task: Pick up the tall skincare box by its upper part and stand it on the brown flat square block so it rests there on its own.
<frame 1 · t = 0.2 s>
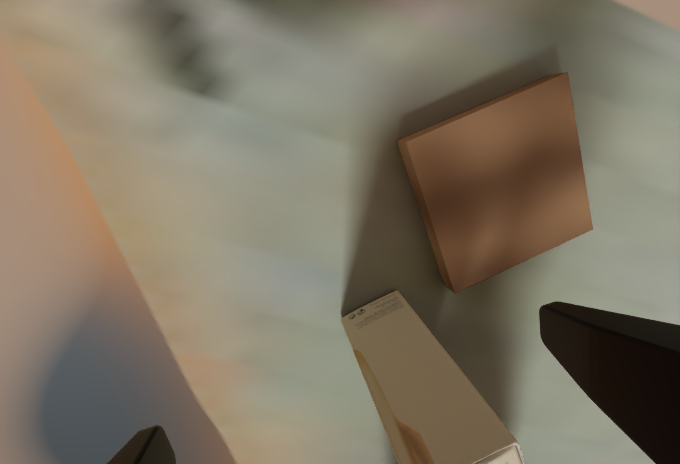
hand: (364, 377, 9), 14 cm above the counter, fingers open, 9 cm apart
skincare box: (385, 337, 25), on the counter
brown flat square block: (488, 184, 24), on the counter
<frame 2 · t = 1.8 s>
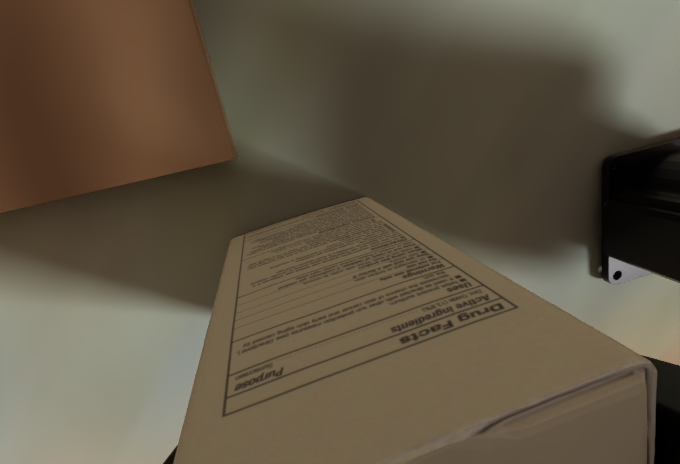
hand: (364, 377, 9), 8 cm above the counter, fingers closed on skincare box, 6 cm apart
skincare box: (317, 258, 16), on the counter, touching gripper
brown flat square block: (52, 43, 13), on the counter
when the fingers open (11 cm above the counter, at t = 4.5 s): skincare box drops 2 cm, resting on brown flat square block.
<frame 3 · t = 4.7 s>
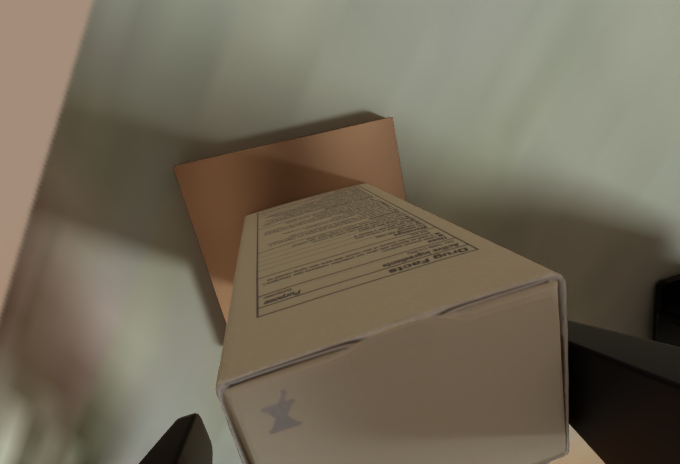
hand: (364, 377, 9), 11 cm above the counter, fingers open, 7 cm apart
skincare box: (320, 237, 18), point 1 cm above the counter, touching gripper, brown flat square block
brown flat square block: (307, 233, 20), on the counter, touching skincare box
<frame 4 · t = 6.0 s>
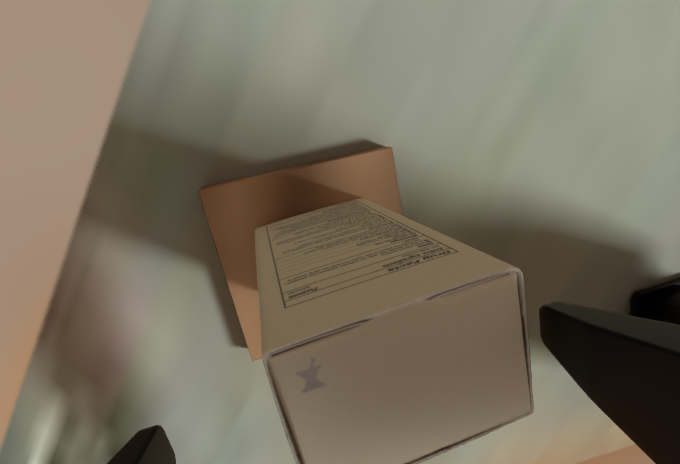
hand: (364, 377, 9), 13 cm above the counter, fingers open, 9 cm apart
skincare box: (322, 247, 20), point 1 cm above the counter, touching brown flat square block
brown flat square block: (314, 248, 22), on the counter, touching skincare box
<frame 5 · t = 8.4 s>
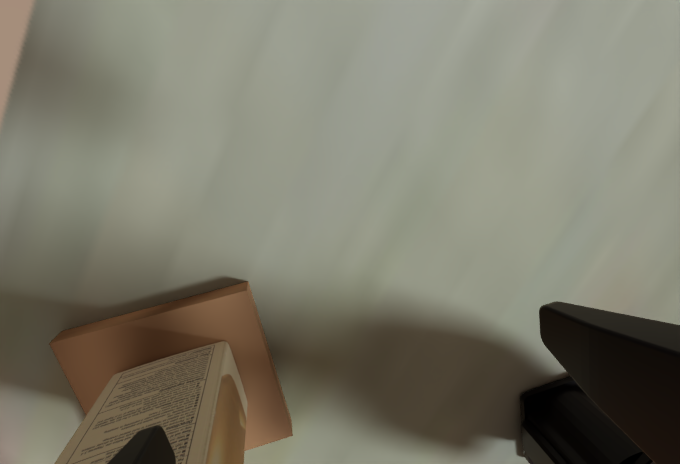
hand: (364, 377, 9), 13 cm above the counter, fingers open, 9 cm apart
skincare box: (187, 384, 21), point 1 cm above the counter, touching brown flat square block
brown flat square block: (190, 371, 23), on the counter, touching skincare box
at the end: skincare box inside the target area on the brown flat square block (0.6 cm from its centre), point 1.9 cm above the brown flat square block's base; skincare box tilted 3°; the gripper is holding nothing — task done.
